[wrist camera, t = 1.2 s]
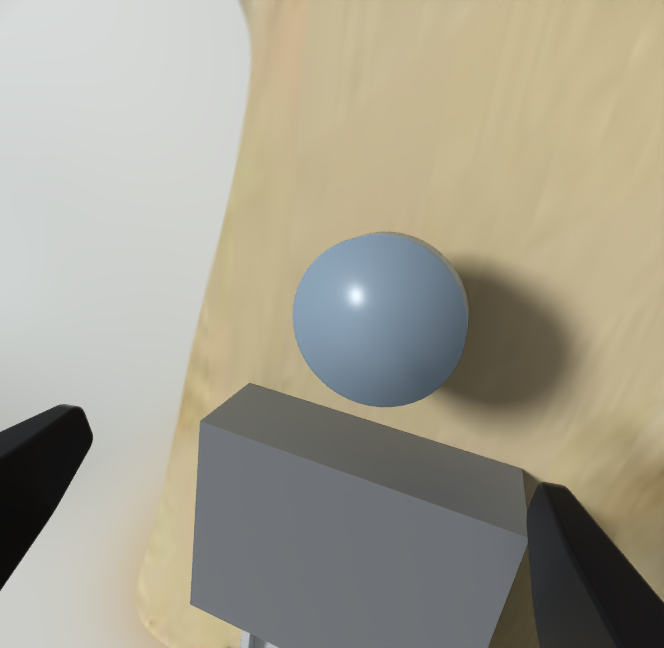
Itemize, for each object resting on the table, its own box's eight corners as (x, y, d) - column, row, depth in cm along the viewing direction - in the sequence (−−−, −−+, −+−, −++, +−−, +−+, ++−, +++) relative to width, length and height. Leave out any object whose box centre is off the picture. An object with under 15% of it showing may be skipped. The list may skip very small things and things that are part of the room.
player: (460, 642, 27) (454, 734, 22) (233, 544, 31) (190, 604, 27) (522, 469, 23) (529, 538, 18) (249, 383, 27) (200, 421, 22)
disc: (490, 369, 18) (489, 388, 16) (340, 400, 21) (326, 420, 19) (439, 206, 17) (433, 208, 15) (289, 262, 20) (269, 269, 18)
